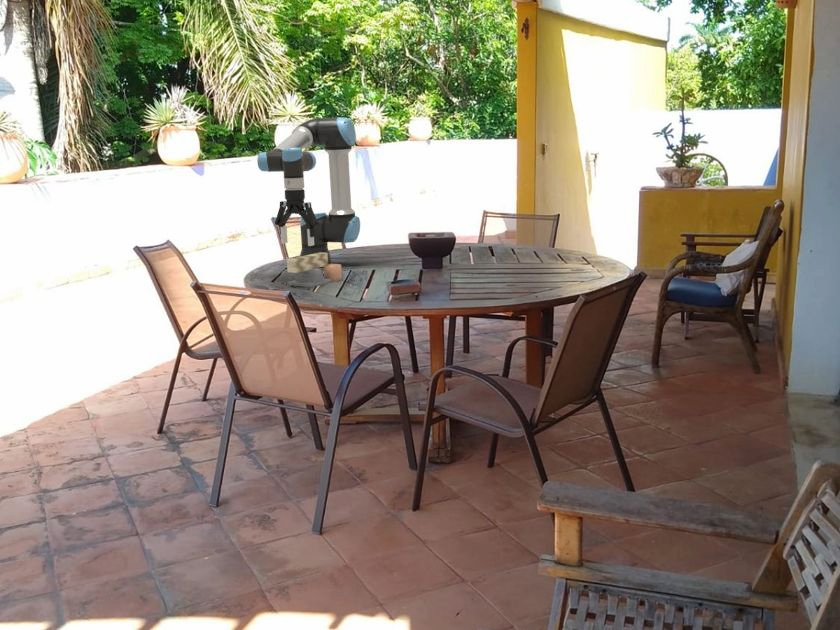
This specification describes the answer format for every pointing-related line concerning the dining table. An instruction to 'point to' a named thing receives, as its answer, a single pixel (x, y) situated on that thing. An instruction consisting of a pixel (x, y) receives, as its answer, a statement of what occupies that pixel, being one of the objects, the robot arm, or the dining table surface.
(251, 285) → the dining table surface
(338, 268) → the orange-brown rounded piece
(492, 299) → the dining table surface
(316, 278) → the fulcrum
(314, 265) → the bar
